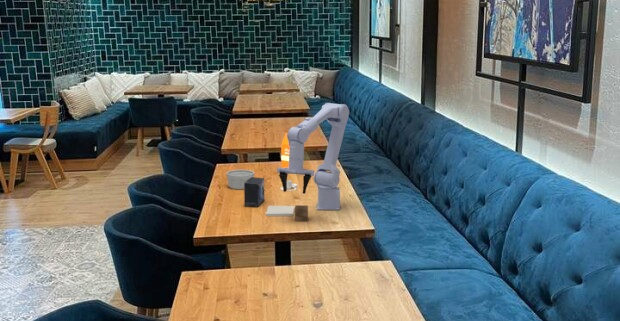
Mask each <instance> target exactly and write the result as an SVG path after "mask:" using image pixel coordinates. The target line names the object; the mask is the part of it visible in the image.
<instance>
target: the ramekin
mask: <svg viewBox="0 0 620 321" xmlns="http://www.w3.org/2000/svg"><path fill="white" fill-rule="evenodd" d="M226 177H227V178H226V179H227V184H228V187H229V188H230V189H232V190H244V183H245V182H246V181H247V180H249V179H250V178H251V177H255V171H253V170H250V169H233V170H229V171H227V172H226Z"/></svg>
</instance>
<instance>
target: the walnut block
mask: <svg viewBox="0 0 620 321" xmlns="http://www.w3.org/2000/svg"><path fill="white" fill-rule="evenodd" d="M308 218H309V205H302V204H301V205H294V222H308V221H309V219H308Z"/></svg>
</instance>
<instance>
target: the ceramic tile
mask: <svg viewBox="0 0 620 321" xmlns="http://www.w3.org/2000/svg"><path fill="white" fill-rule="evenodd" d="M294 215H295V205H268V206H267V210H266V212H265V217H294Z"/></svg>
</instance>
